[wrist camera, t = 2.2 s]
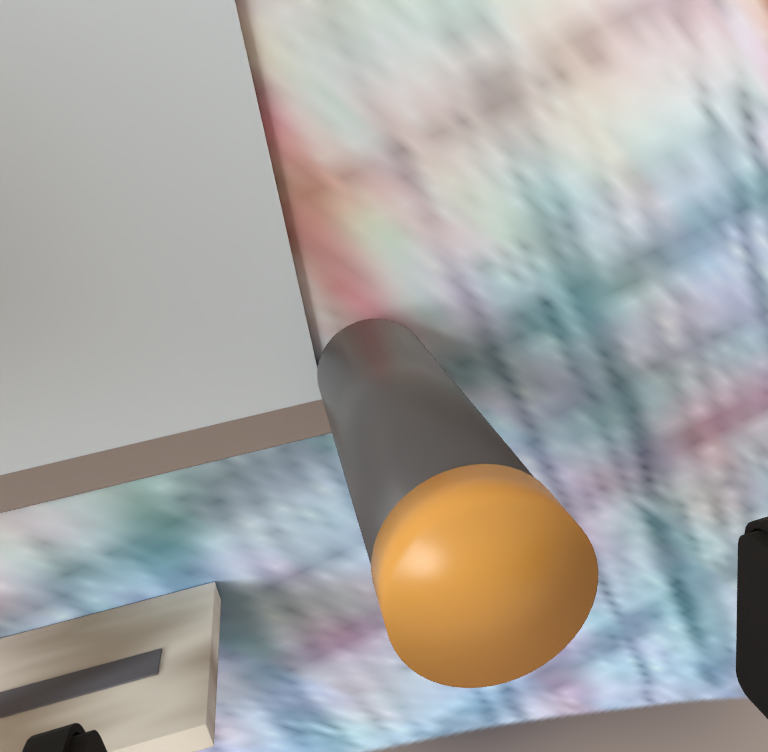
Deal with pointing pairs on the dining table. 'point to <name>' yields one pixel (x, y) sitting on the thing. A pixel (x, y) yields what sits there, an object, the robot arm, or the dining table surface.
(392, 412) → the marker
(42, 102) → the notepad
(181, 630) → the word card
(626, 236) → the dining table surface
